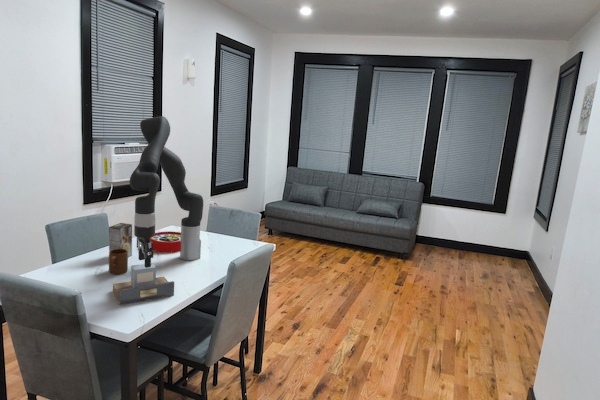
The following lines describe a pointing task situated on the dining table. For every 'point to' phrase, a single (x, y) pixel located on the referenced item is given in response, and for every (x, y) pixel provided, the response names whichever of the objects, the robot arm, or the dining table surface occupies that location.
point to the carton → (142, 275)
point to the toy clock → (166, 242)
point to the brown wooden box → (143, 291)
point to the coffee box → (121, 237)
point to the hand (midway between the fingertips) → (144, 263)
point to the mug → (118, 261)
